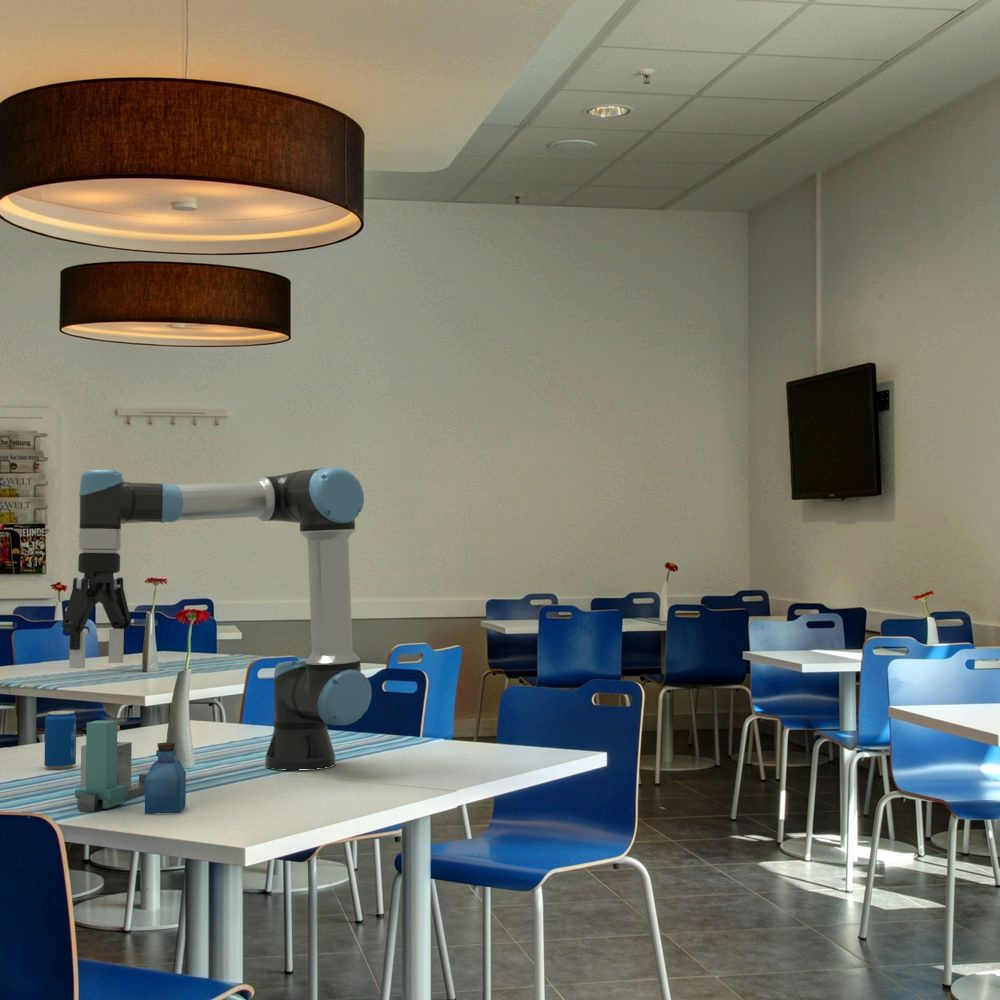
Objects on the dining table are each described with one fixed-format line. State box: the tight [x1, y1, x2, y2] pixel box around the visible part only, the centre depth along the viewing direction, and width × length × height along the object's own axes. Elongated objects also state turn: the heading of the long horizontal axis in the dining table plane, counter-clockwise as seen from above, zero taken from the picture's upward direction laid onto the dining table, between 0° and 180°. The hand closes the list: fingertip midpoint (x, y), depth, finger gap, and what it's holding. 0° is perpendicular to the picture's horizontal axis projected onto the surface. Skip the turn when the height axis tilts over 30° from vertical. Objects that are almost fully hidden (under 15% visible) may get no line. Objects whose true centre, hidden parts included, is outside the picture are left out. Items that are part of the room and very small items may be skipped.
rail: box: [78, 772, 148, 813], centre depth 246 cm, size 3×24×3 cm, turn 168°
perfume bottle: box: [144, 742, 187, 815], centre depth 236 cm, size 6×6×12 cm
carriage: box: [74, 719, 127, 809], centre depth 239 cm, size 7×6×15 cm
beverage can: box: [43, 710, 77, 771], centre depth 283 cm, size 6×6×12 cm
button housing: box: [80, 741, 133, 788], centre depth 256 cm, size 7×7×9 cm
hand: (96, 665), depth 244 cm, fingers open, 13 cm apart
